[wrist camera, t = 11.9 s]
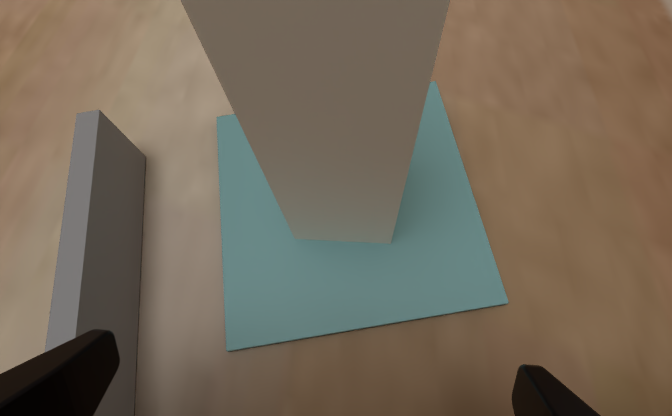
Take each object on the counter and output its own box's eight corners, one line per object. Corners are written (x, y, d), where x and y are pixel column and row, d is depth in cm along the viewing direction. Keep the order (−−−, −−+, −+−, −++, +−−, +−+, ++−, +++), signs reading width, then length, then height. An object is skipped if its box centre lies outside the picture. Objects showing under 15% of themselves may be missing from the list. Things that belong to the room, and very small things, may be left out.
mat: (505, 304, 17) (508, 302, 16) (229, 351, 17) (226, 350, 16) (434, 86, 21) (435, 81, 21) (219, 121, 21) (216, 117, 21)
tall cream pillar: (390, 243, 18) (456, -30, 6) (294, 238, 18) (166, -29, 6) (392, 159, 19) (445, -188, 7) (304, 156, 20) (219, -180, 8)
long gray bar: (130, 494, 15) (54, 534, 11) (104, 498, 15) (19, 540, 11) (145, 156, 21) (99, 109, 17) (127, 159, 21) (76, 113, 17)
